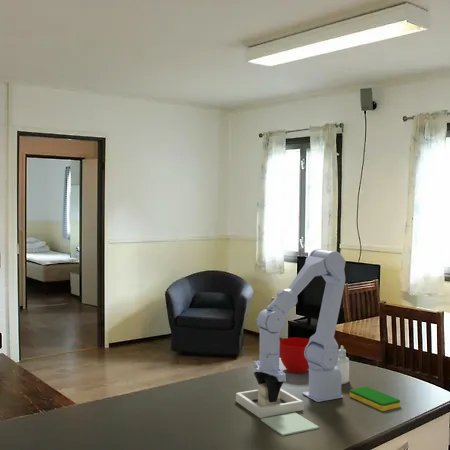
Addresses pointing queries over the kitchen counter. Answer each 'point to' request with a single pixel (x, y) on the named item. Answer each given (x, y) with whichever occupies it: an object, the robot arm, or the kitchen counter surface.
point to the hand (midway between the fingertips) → (268, 399)
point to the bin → (290, 406)
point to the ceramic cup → (294, 354)
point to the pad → (289, 424)
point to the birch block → (265, 396)
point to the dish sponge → (375, 398)
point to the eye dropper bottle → (343, 365)
